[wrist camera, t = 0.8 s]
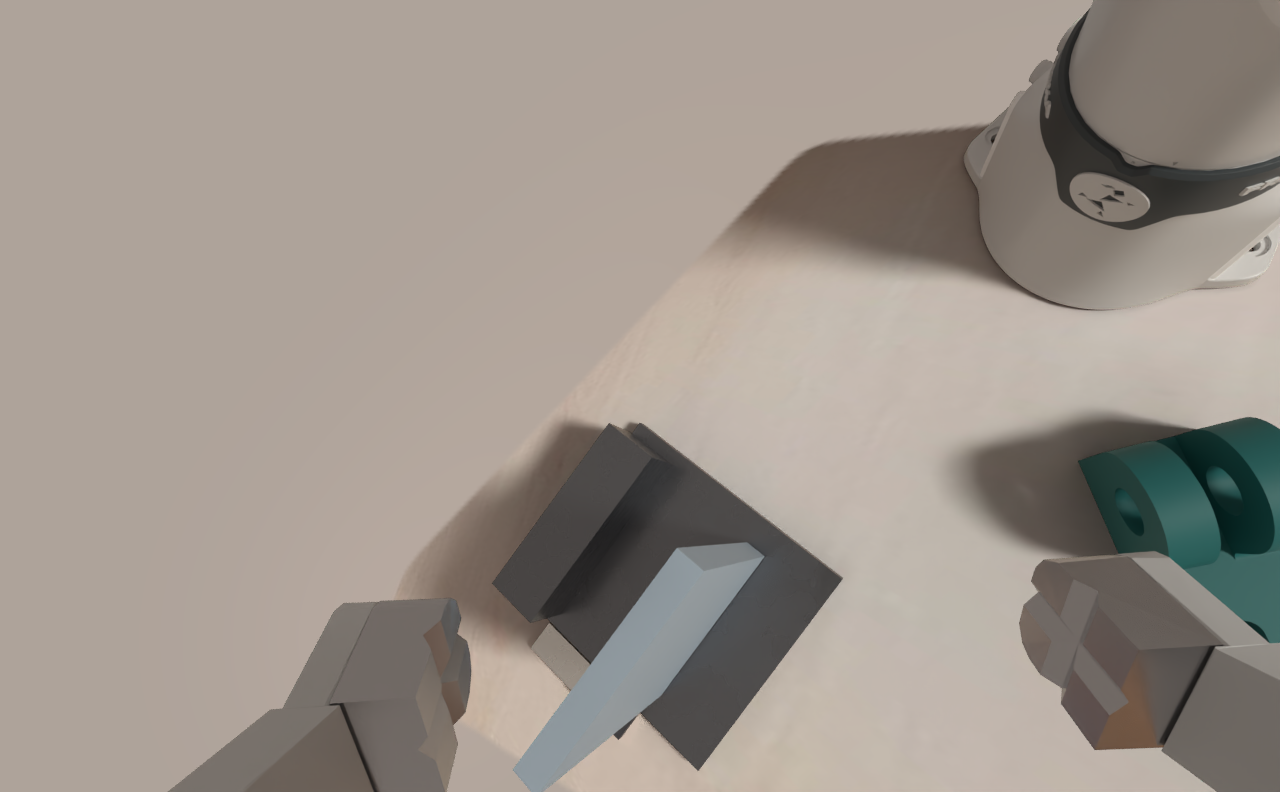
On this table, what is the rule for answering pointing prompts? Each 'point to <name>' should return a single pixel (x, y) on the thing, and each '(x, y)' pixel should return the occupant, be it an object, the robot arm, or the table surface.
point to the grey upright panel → (640, 657)
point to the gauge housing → (632, 557)
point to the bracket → (1203, 510)
